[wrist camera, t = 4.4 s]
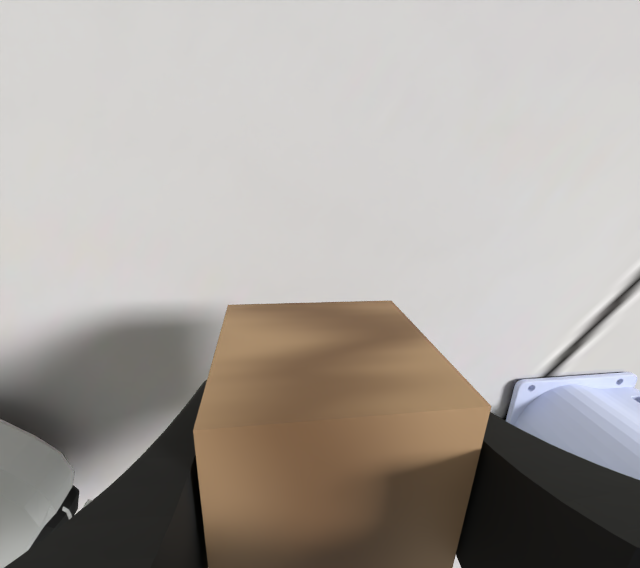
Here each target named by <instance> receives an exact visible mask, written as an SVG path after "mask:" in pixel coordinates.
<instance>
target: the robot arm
mask: <svg viewBox="0 0 640 568" xmlns="http://www.w3.org/2000/svg"><path fill="white" fill-rule="evenodd" d="M206 382H207V380H206V381H205V382H204V383H203V384H202V385H201V386H200V388H199V389H198V390H197V392H196V393H195V394H194V396H193V397H192V398H191V400H190V401H189V402H188V403H187V405H186V406H185V407H184V409H183V410H182V411H181V412H180V413H179V415H178V416H177V417H176V418H175V419H174V421H173V422H172V423H171V424H170V425H169V426H168V428H167V429H166V430H165V431H164V432H163V433H162V434H161V435H160V437H159V438H158V439H157V440H156V441H155V442H154V443H153V444H152V445H151V446H150V447H149V448H148V449H147V450H146V452H145V453H144V454H143V455H142V456H141V457H140V458H139V459H138V460H137V461H136V462H135V463H134V464H133V465H132V466H131V467H130V468H129V469H128V470H126V471H125V472H124V473H123V474H122V475H121V476H120V477H119V478H118V479H117V480H116V481H115V482H114V483H112V484H111V485H110V486H109V487H108V488H107V489H106V490H105V491H103V492H102V493H101V494H100V495H99V496H97V497H96V498H95V499H94V500H93V501H91V502H90V503H89V504H88V505H86V506H85V507H84V508H83V509H82V510H80V511H79V512H78V513H77V514H75V515H74V516H73V517H72V518H71V519H69V520H68V521H67V522H66V523H64V524H63V525H62V526H60V527H59V528H58V529H56V530H55V531H54V532H52V533H51V534H50V535H48V536H47V537H46V538H44V539H43V540H42V541H40V542H39V543H38V544H36V545H35V546H34V547H32V548H31V549H29V550H28V551H27V552H25V553H24V554H22V555H21V556H20V557H18V558H17V559H15V560H14V561H13V562H11V563H10V564H8V565H7V566H5V567H4V568H208V561H207V552H206V543H205V534H204V525H203V516H202V507H201V498H200V489H199V480H198V471H197V462H196V453H195V444H194V435H193V429H194V425H195V422H196V418H197V415H198V411H199V407H200V404H201V400H202V397H203V393H204V389H205V386H206ZM636 382H637V376H636V375H635V374H633V373H631V372H623V373H609V374H594V375H579V376H565V377H550V378H536V379H523V380H519V381H518V382H517V383H516V384H515V387H514V391H513V395H512V398H511V402H510V406H509V410H508V414H507V418H506V421H505V420H503V419H501V418H499V417H498V416H496V415H494V414H492V413H491V412H490V414H489V418H488V422H487V426H486V430H485V435H484V439H483V443H482V447H481V451H480V455H479V459H478V464H477V468H476V472H475V476H474V480H473V484H472V488H471V493H470V497H469V501H468V505H467V509H466V513H465V517H464V522H463V526H462V530H461V534H460V538H459V542H458V546H457V551H456V555H457V558H458V560H459V563H460V565H461V568H640V391H639V390H638V389H636V388H634V387H635V384H636Z"/></svg>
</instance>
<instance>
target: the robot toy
mask: <svg viewBox="0 0 640 568" xmlns="http://www.w3.org/2000/svg"><path fill="white" fill-rule="evenodd" d="M73 480H74V470H73V468H72V467H71V466H70V465H69V463H68V462H67V460H66V458H65V457H64V455H63V454H62V453H61V452H60V451H58V450H57V449H56V448H54V447H53V446H51V445H49V444H48V443H46V442H45V441H43V440H42V439H40V438H38V437H37V436H35V435H33V434H31V433H29V432H27V431H24V430H22V429H20V428H18V427H16V426H14V425H12V424H10V423H8V422H6V421H4V420H2V419H0V568H4V567H5V566H7V565H8V564H10V563H11V562H13V561H14V560H15V559H17V558H18V557H20V556H21V555H22V554H24V553H25V552H27V551H28V550H29V549H31V548H32V547H34V546H35V545H36V544H38V543H39V542H40V541H42V540H43V539H44V538H46V537H47V536H48V535H50V534H51V533H52V532H54V531H55V530H56V529H58V528H59V527H60V526H62V525H63V524H64V523H66V522H67V521H68V520H69V519H71V518H72V517H73V516H74V514H75V513H76V511H77V509H78V498H79V490H78V489H77V488H76V487H75V486H74V485H73ZM91 501H93V500H90V499H88V501H87V502H86V503H85V505H84V507H85V506H86V505H88V504H89V503H90V502H91ZM84 507H83V508H84ZM83 508H82V509H83ZM82 509H81V510H82Z"/></svg>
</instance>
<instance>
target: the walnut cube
mask: <svg viewBox="0 0 640 568" xmlns="http://www.w3.org/2000/svg"><path fill="white" fill-rule="evenodd" d="M490 410H491V405H490V404H489V403H488V402H487V401H486V400H485V399H484V398H483V397H482V396H481V395H480V394H479V393H478V392H477V391H476V390H475V389H474V388H473V386H472V385H471V384H470V383H469V382H468V381H467V380H466V379H465V378H464V377H463V376H462V375H461V374H460V373H459V372H458V371H457V370H456V368H455V367H454V366H453V365H452V364H451V363H450V362H449V361H448V360H447V359H446V358H445V357H444V356H443V355H442V354H441V353H440V352H439V351H438V349H437V348H436V347H435V346H434V345H433V344H432V343H431V342H430V341H429V340H428V339H427V338H426V337H425V336H424V335H423V334H422V333H421V332H420V330H419V329H418V328H417V327H416V326H415V325H414V324H413V323H412V322H411V321H410V320H409V319H408V318H407V317H406V316H405V315H404V314H403V312H402V311H401V310H400V309H399V308H398V307H397V306H396V305H395V304H394V303H393V302H392V301H359V302H321V303H283V304H245V305H228V307H227V310H226V314H225V318H224V321H223V325H222V328H221V332H220V336H219V339H218V343H217V346H216V350H215V353H214V357H213V361H212V364H211V368H210V371H209V375H208V379H207V382H206V386H205V389H204V393H203V397H202V400H201V404H200V407H199V411H198V415H197V418H196V422H195V425H194V429H193V435H194V444H195V453H196V462H197V471H198V480H199V489H200V498H201V507H202V516H203V525H204V534H205V543H206V552H207V561H208V568H452V567H453V563H454V559H455V555H456V551H457V546H458V542H459V538H460V534H461V530H462V526H463V522H464V517H465V513H466V509H467V505H468V501H469V497H470V493H471V488H472V484H473V480H474V476H475V472H476V468H477V464H478V459H479V455H480V451H481V447H482V443H483V439H484V435H485V430H486V426H487V422H488V418H489V414H490Z"/></svg>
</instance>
